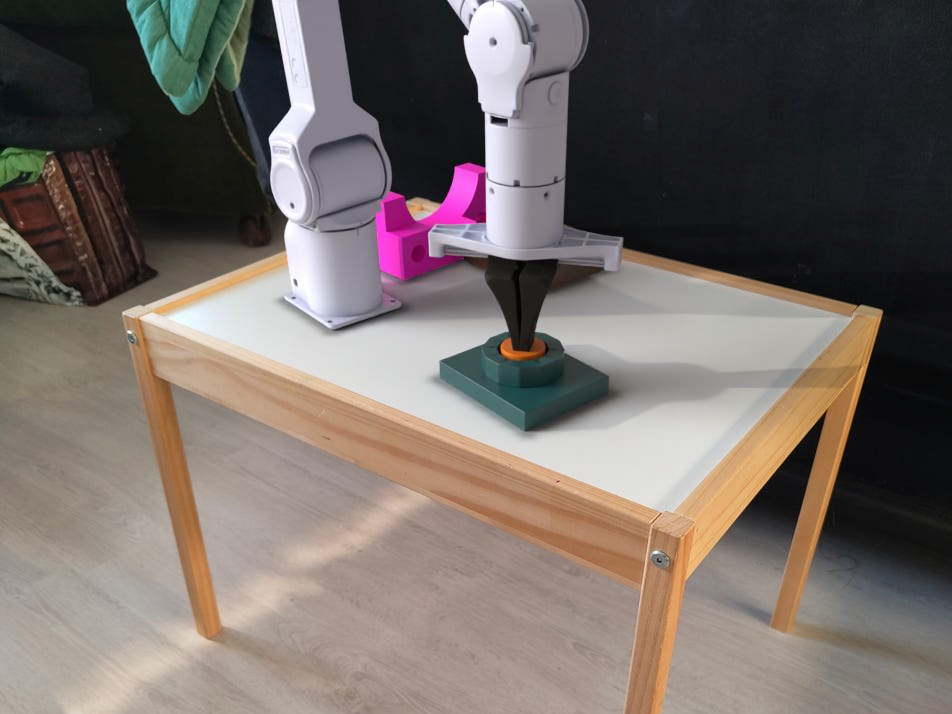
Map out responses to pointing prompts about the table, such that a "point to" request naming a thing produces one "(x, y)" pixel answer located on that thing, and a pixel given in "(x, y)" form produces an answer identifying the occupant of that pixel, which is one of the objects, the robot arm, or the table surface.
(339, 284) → the robot arm
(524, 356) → the button
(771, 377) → the table surface
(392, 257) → the toy block
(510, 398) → the button base
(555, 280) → the dial panel
